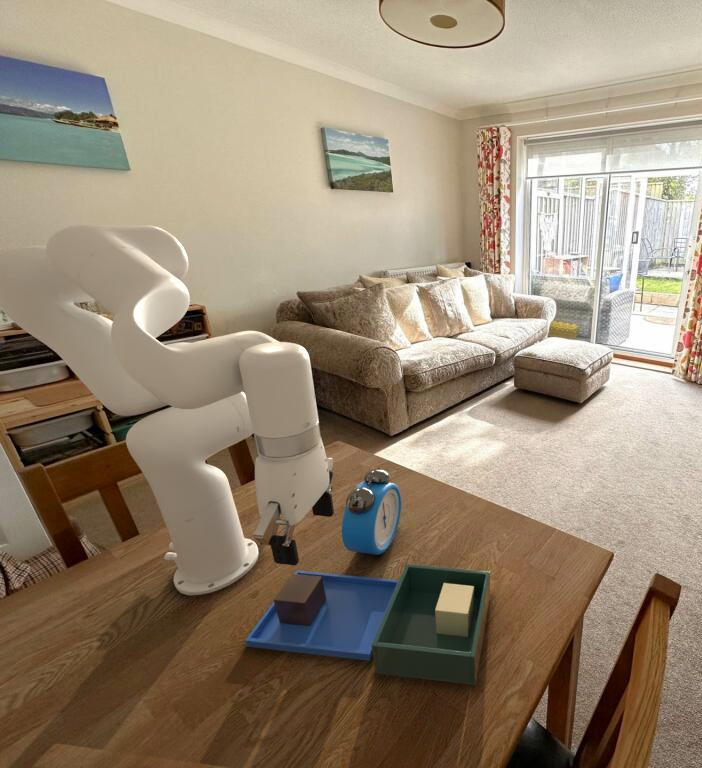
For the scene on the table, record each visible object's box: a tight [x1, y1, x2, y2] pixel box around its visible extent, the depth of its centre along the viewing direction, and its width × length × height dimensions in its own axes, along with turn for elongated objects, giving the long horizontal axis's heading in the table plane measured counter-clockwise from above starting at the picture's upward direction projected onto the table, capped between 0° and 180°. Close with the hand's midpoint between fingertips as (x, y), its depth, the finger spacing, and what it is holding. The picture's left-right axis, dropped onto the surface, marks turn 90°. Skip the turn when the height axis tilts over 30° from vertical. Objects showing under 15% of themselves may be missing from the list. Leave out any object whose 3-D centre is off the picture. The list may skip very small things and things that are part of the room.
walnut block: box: [273, 573, 326, 626], centre depth 64 cm, size 5×5×5 cm
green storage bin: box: [372, 563, 491, 688], centre depth 62 cm, size 14×14×6 cm
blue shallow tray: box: [244, 570, 399, 662], centre depth 65 cm, size 19×13×2 cm
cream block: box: [435, 583, 474, 637], centre depth 63 cm, size 5×5×5 cm
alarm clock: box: [341, 467, 402, 557], centre depth 77 cm, size 13×6×15 cm, turn 172°
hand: (306, 536), depth 60 cm, fingers open, 9 cm apart
